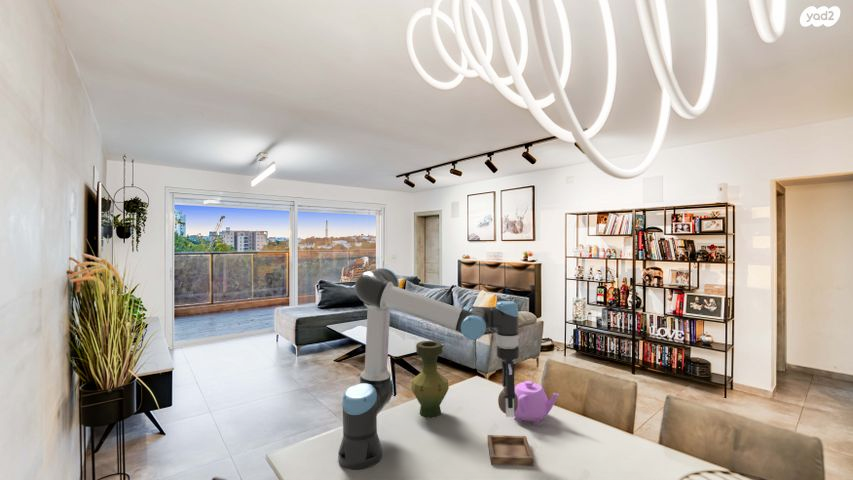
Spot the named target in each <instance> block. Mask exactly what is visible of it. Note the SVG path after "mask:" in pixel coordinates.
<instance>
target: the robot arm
mask: <svg viewBox="0 0 853 480" xmlns="http://www.w3.org/2000/svg"><path fill="white" fill-rule="evenodd" d="M399 285H400V283H399V278H398V276H397V274H396V273H395V272H394V271H393V270H391V269H389V268H383V267H381V268H375V269H372V270H367V271H364V272H363V273H361V274H360V275H359V276H358V277H357V279H356V281H355V284H354V290H355V294H356V296H357V298H359V300H360V301H362V302H363V305H364V306H365V307H366V308H367V315H366V316H367V317H366V318H367V319H366V335H365V337H366V339H365V356H364V369H363V370H362V372H361V373H360V375H359V377H360V378H359V383H356V384H354V385H352V386H351V385H350V386H349V387H348V388H347V389H345V391H344V392H343V395H342V401H341V406H342V439H341V443H340V445H339V449H338V455H337V456H338V457H337V458H338V459H337V461H338V464H339V465H341V466H342V467H344V468H346V469H349V468H350V469H351V470H361V469H362V470H363V469H368V468H370V467H372V466H374V465H376V464H377V463H379V461H380V460H381V459H382V457H383V446H382V443H381V441H380V437H379V435H378V426H377V425H378V423H377V422H378V421H377V420H378V418H377V416H378V414H380V412H381V411H382V410H383V409H384V408H385V406H386V405H388V403H389V402H390V401H391V398H392V396H393V394H394V383H393V380H392V379H391V376H392V375H391V372H390V371H389V370H388V359H389V358H388V357H389V356H388V355H389V339H390V337H389V336H390V318H391V317H390V316H391V310H394V311H397V312H399V313H403V314H405V315H408V316H412V317H414V318H417V319H420V320H423V321H426V322H429V323H432V324H434V325H438V326H440V327H443V328H446V329H449V330H452V331H454V332H457V333H460V334H462V335H463V337H464V338H466V339H467V340H469V341H477V340H479V339H481V337H482V336H484V334H485V333H486V330H487V329H492V330H493V329H496V345H497V346H496V356H497V358H498V359H501V367H502V368H501V369H502V370H501V371H502V379H501V382H502V390H503V389H504V387H505V386H506V396H504V398H506V414H505V417H506V418H509V417H510V418H515V416H514V399H515V387H516V385H515V363H514V360H517V359H518V358H519V356H520V352H519V351H520V347H519V340H520V339H521V337H520V336H519V306H518V304H517V303H516V302H515V301H511V300H498V301H497V302H496V303H495V306H474V305H472V306H464V307H463V308H461V307H457V306H454V305H451V304H449V303H446V302H443V301H439V300H438V299H437V300H436V299H433V298H431V297H428V296H425V295H422V294H419V293H415V292H413V291H410V290H407V289H404V288H401V287H400V286H399Z"/></svg>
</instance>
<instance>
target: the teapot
mask: <svg viewBox="0 0 853 480" xmlns="http://www.w3.org/2000/svg"><path fill="white" fill-rule="evenodd" d="M515 393H516V395H517V398H518V408H517V410H516V411H515V412H514V417H513V419H514V420H515V421H517V422H518V421H522V420H523V421H528V422H531V424H532V425H534V426H539V425H540V422H541V421H542V420H544V419H545V418H546V417H547V416H548V415H549V413H550V411H551V410H552V409H553V407H554V405H555V403H556V401H557V399H558V397H559V396H560V394H559V393H556V392H553V393H552V396H551V397H550V398H549V399H548V396H547V393H546V392H545V390H544V387H543V386H542V385H541V384H538V383H536V382H533V381H531V380H526V381H521V382H519V383H518V384H516V385H515Z"/></svg>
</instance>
